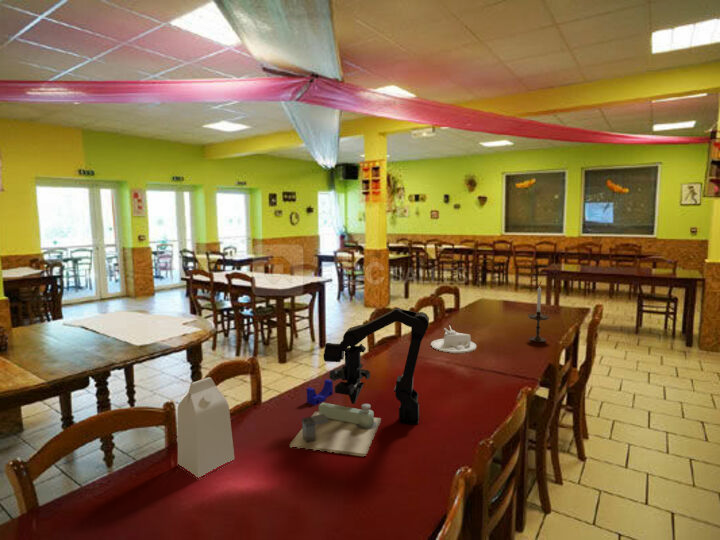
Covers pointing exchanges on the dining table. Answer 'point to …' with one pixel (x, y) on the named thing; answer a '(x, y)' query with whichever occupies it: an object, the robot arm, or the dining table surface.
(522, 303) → the dining table surface
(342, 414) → the latch bar
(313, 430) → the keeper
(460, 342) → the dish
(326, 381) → the cable clip
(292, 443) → the base board
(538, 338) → the candlestick
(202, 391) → the milk
